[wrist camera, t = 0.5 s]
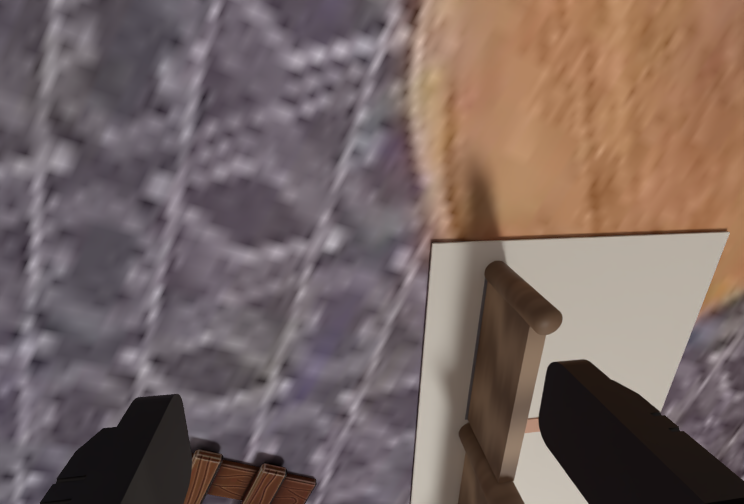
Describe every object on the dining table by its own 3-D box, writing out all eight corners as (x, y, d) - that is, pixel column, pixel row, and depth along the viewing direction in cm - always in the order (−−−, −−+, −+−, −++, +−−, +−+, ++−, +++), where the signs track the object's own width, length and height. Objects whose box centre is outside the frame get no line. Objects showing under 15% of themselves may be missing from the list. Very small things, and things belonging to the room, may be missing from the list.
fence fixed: (480, 260, 29) (535, 314, 22) (512, 258, 29) (575, 311, 22) (456, 441, 35) (492, 526, 28) (481, 438, 36) (523, 521, 29)
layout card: (431, 242, 27) (433, 244, 27) (727, 231, 31) (731, 232, 31) (406, 552, 40) (407, 556, 40) (616, 519, 44) (618, 522, 44)
